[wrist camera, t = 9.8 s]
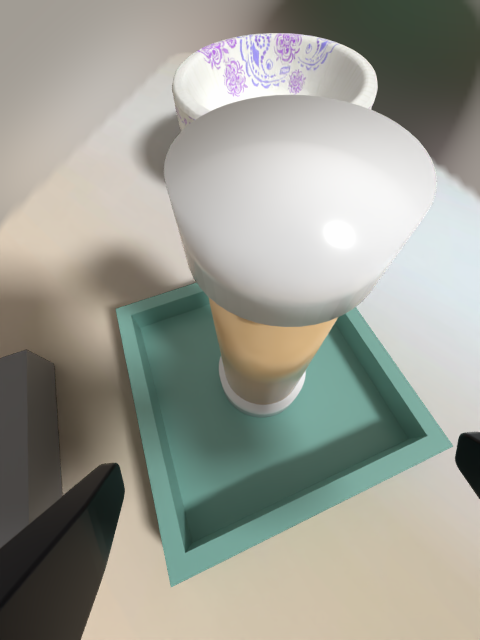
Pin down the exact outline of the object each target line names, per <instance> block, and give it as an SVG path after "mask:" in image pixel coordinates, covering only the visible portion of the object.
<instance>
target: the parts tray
mask: <svg viewBox="0 0 480 640" xmlns="http://www.w3.org/2000/svg"><path fill="white" fill-rule="evenodd" d="M116 313H117V318H118V323H119V328H120V334H121V339H122V344H123V349H124V354H125V359H126V364H127V369H128V374H129V379H130V384H131V389H132V394H133V399H134V404H135V409H136V414H137V419H138V424H139V429H140V434H141V439H142V444H143V449H144V454H145V459H146V464H147V469H148V474H149V479H150V484H151V489H152V494H153V499H154V504H155V509H156V514H157V519H158V524H159V529H160V534H161V540H162V545H163V550H164V555H165V560H166V565H167V570H168V575H169V580H170V585H171V587H173V586H175V585H177V584H179V583H181V582H183V581H185V580H187V579H189V578H191V577H193V576H195V575H197V574H199V573H201V572H203V571H205V570H207V569H209V568H211V567H213V566H215V565H217V564H219V563H221V562H223V561H225V560H227V559H229V558H231V557H233V556H235V555H237V554H239V553H241V552H243V551H245V550H247V549H249V548H251V547H253V546H255V545H257V544H259V543H261V542H263V541H265V540H267V539H269V538H271V537H273V536H275V535H277V534H279V533H281V532H283V531H285V530H287V529H289V528H291V527H293V526H295V525H297V524H299V523H301V522H303V521H305V520H307V519H309V518H311V517H313V516H315V515H317V514H319V513H321V512H323V511H325V510H327V509H329V508H331V507H333V506H335V505H337V504H339V503H341V502H343V501H345V500H347V499H349V498H351V497H353V496H355V495H357V494H359V493H361V492H363V491H365V490H367V489H369V488H371V487H373V486H375V485H377V484H379V483H381V482H383V481H385V480H387V479H389V478H391V477H393V476H395V475H397V474H399V473H401V472H403V471H405V470H407V469H409V468H411V467H413V466H415V465H417V464H419V463H421V462H423V461H425V460H427V459H429V458H431V457H433V456H435V455H437V454H439V453H441V452H443V451H445V450H447V449H449V448H451V447H453V445H452V444H451V442H450V441H449V439H448V438H447V437H446V435H445V434H444V432H443V431H442V429H441V428H440V427H439V425H438V424H437V422H436V421H435V419H434V418H433V417H432V415H431V414H430V412H429V411H428V409H427V408H426V407H425V405H424V404H423V402H422V401H421V400H420V398H419V397H418V395H417V394H416V392H415V391H414V390H413V388H412V387H411V385H410V384H409V382H408V381H407V380H406V378H405V377H404V375H403V374H402V372H401V371H400V370H399V368H398V367H397V365H396V364H395V362H394V361H393V360H392V358H391V357H390V355H389V354H388V352H387V351H386V350H385V348H384V347H383V345H382V344H381V342H380V341H379V340H378V338H377V337H376V335H375V334H374V333H373V331H372V330H371V328H370V327H369V325H368V324H367V323H366V321H365V320H364V318H363V317H362V315H361V314H360V313H359V311H358V310H357V308H356V307H355V308H354V309H352V310H351V311H349V312H347V313H345V314H344V315H342V316H340V317H338V319H337V320H336V322H335V323H334V325H333V327H332V328H331V330H330V332H329V333H328V335H327V336H326V338H325V340H324V341H323V343H322V345H321V346H320V348H319V349H318V351H317V353H316V354H315V356H314V358H313V359H312V361H311V362H310V364H309V366H308V367H307V369H306V375H305V381H304V384H303V386H302V389H301V390H300V392H299V394H298V395H297V396H296V398H295V399H294V401H293V402H292V403H291V405H290V406H289V407H288V408H287V409H285V410H284V411H283V412H281V413H279V414H277V415H275V416H272V417H266V418H257V417H252V416H248V415H246V414H244V413H242V412H240V411H239V410H237V409H236V408H235V407H234V406H233V405H232V404H231V403H230V402H229V400H228V399H227V397H226V395H225V393H224V390H223V387H222V383H221V380H220V376H219V361H220V357H221V353H220V348H219V344H218V339H217V334H216V330H215V325H214V320H213V316H212V311H211V307H210V302H209V297H208V296H207V295H206V294H205V293H204V292H203V290H202V289H201V288H200V287H199V285H198V284H197V283H194V284H191V285H188V286H185V287H181V288H178V289H175V290H172V291H169V292H166V293H163V294H160V295H157V296H154V297H151V298H147V299H144V300H141V301H138V302H135V303H132V304H129V305H126V306H123V307H120V308H117V309H116Z"/></svg>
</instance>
